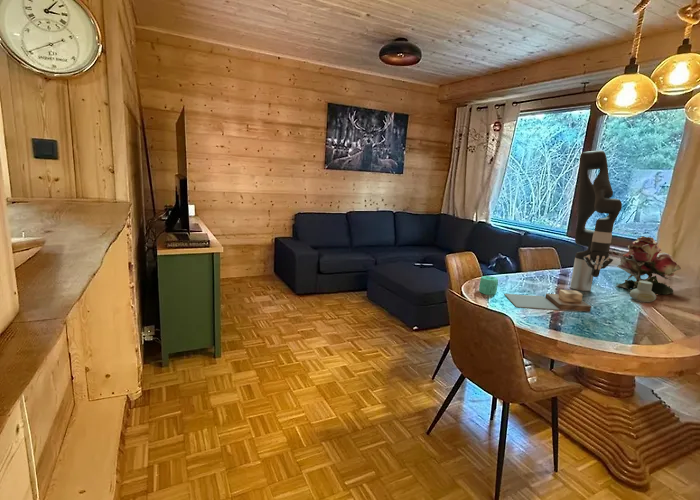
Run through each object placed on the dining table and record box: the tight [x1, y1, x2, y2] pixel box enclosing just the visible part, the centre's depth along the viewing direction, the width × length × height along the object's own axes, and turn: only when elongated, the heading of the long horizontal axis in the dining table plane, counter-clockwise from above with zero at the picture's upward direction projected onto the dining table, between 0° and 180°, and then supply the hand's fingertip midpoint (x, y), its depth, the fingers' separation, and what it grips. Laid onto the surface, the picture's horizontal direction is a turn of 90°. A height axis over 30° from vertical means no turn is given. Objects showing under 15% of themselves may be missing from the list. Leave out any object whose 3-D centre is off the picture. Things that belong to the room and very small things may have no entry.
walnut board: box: [545, 293, 592, 312], centre depth 191 cm, size 14×16×2 cm
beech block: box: [558, 289, 584, 302], centre depth 190 cm, size 8×6×4 cm
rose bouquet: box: [616, 236, 681, 296], centre depth 223 cm, size 26×29×30 cm
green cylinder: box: [478, 275, 499, 296], centre depth 204 cm, size 8×8×8 cm
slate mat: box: [504, 293, 561, 311], centre depth 193 cm, size 20×19×1 cm
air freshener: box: [629, 281, 657, 304], centre depth 202 cm, size 11×8×10 cm
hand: (594, 276), depth 188 cm, fingers closed
